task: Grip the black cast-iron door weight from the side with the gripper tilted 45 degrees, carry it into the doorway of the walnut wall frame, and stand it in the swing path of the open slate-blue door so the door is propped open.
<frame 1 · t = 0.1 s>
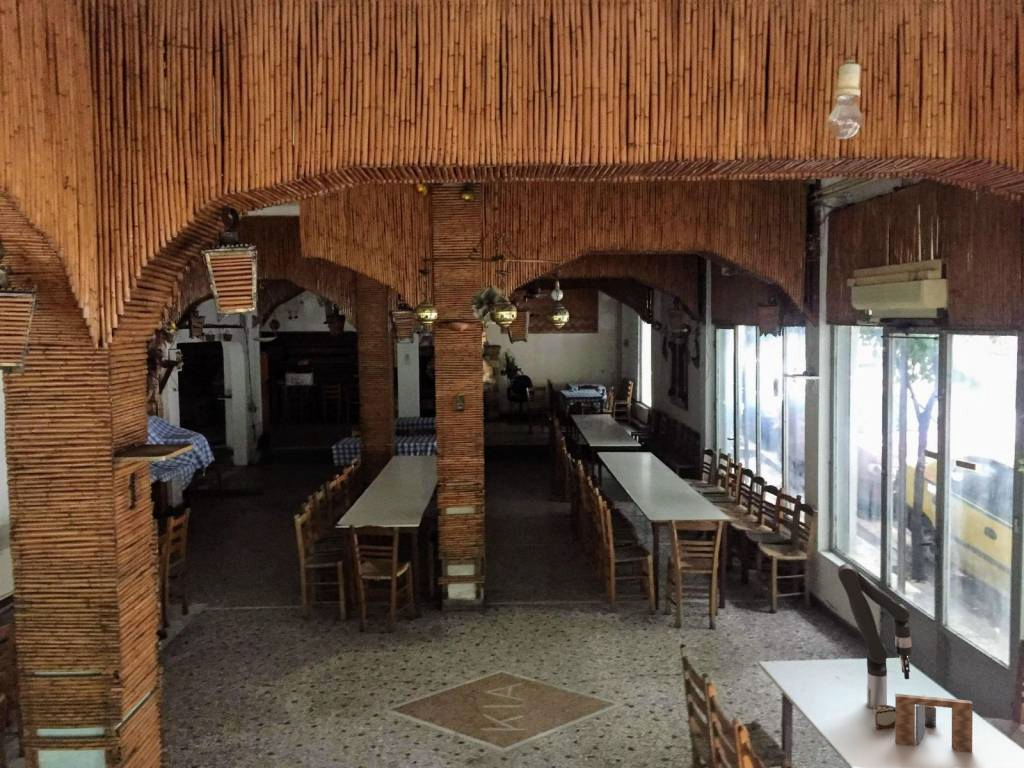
hand: (905, 675, 433), 17 cm above the table, tool pointing down, fingers open, 8 cm apart
cabinet door: (918, 718, 402), point 10 cm above the table, hinge at 70.0°
door weight: (929, 725, 415), on the table
food container: (882, 727, 415), on the table
door frame: (933, 746, 394), on the table
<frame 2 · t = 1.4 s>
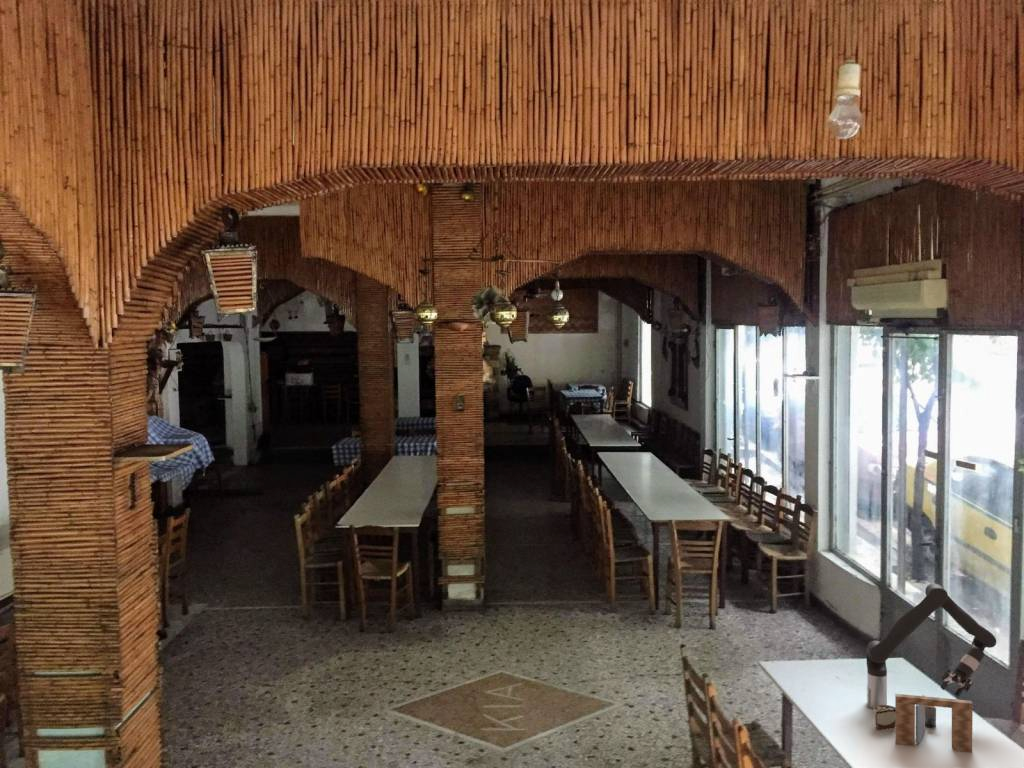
hand: (948, 692, 418), 15 cm above the table, tool tilted 45°, fingers open, 8 cm apart
nothing on the table moved.
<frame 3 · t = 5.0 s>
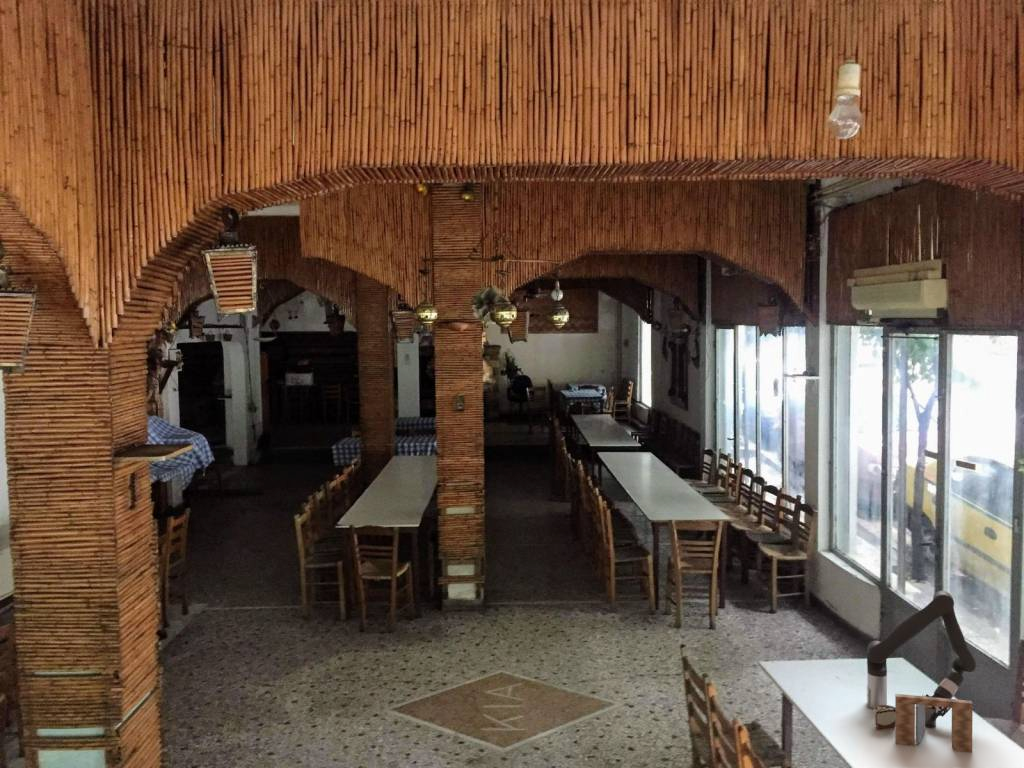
hand: (926, 717, 414), 4 cm above the table, tool tilted 45°, fingers closed on door weight, 5 cm apart
door weight: (929, 725, 415), on the table, touching gripper
everything else where it was.
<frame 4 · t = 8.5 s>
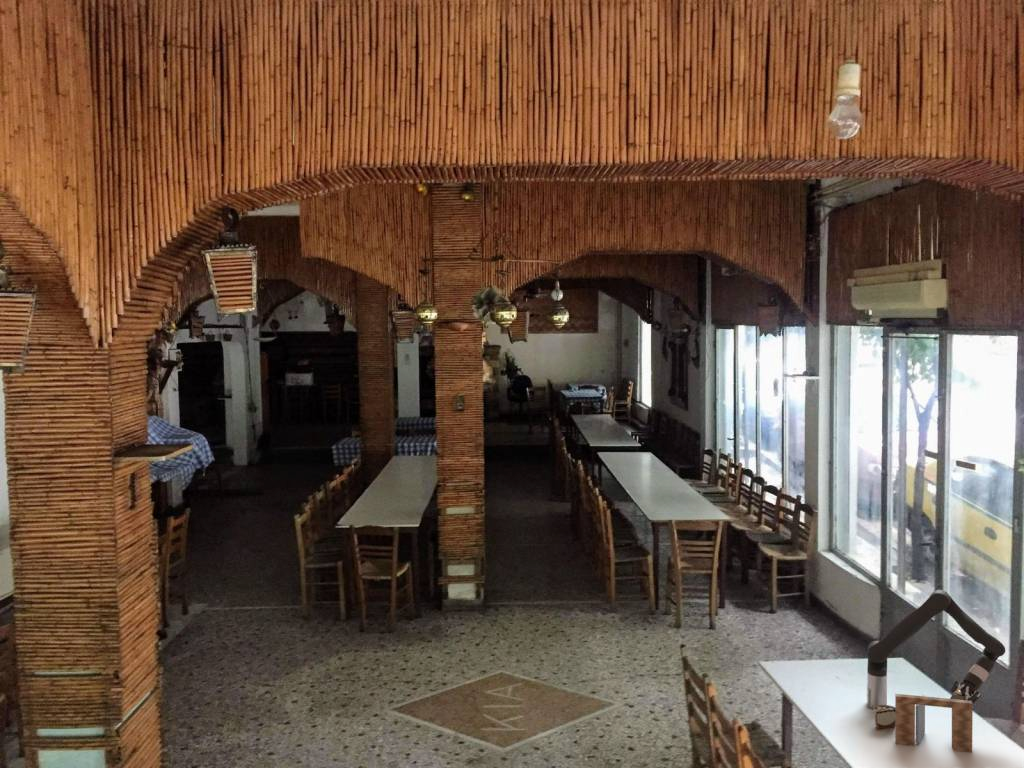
hand: (956, 704, 402), 16 cm above the table, tool tilted 45°, fingers closed on door weight, 5 cm apart
door weight: (959, 713, 403), point 11 cm above the table, touching gripper
everything else where it was.
when the fingers open (6 cm above the table, at t = 11.9 s): door weight drops 1 cm, on the table.
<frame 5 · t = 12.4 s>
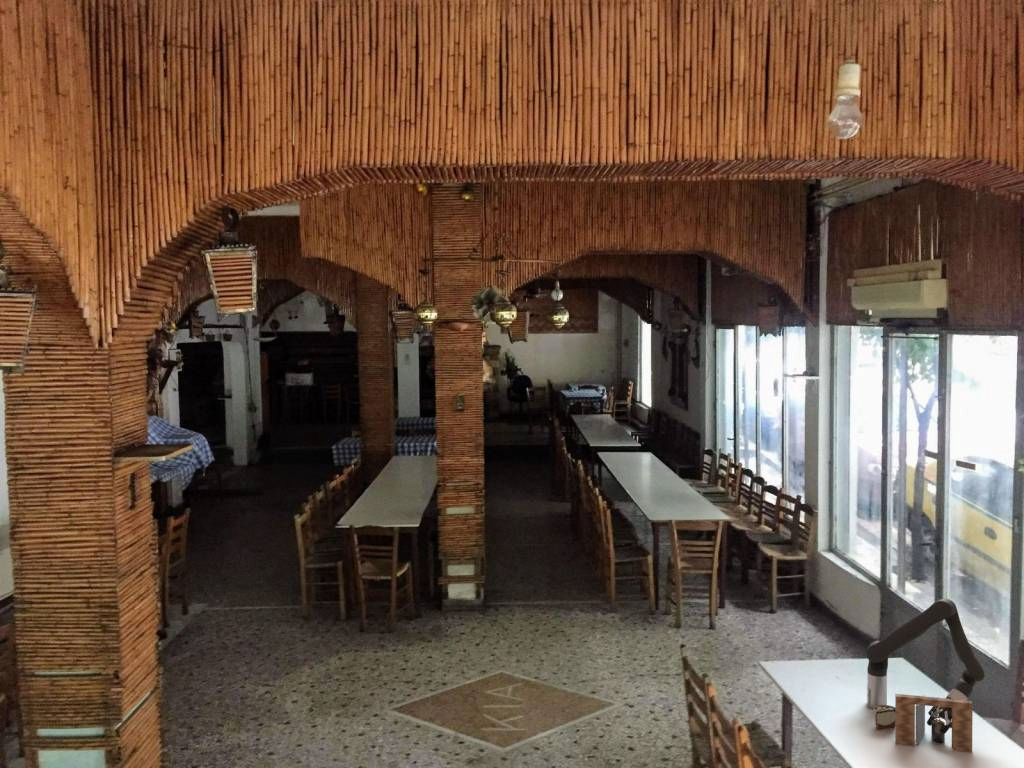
hand: (935, 728, 399), 6 cm above the table, tool tilted 45°, fingers open, 8 cm apart
door weight: (938, 740, 400), on the table
everything else where it was.
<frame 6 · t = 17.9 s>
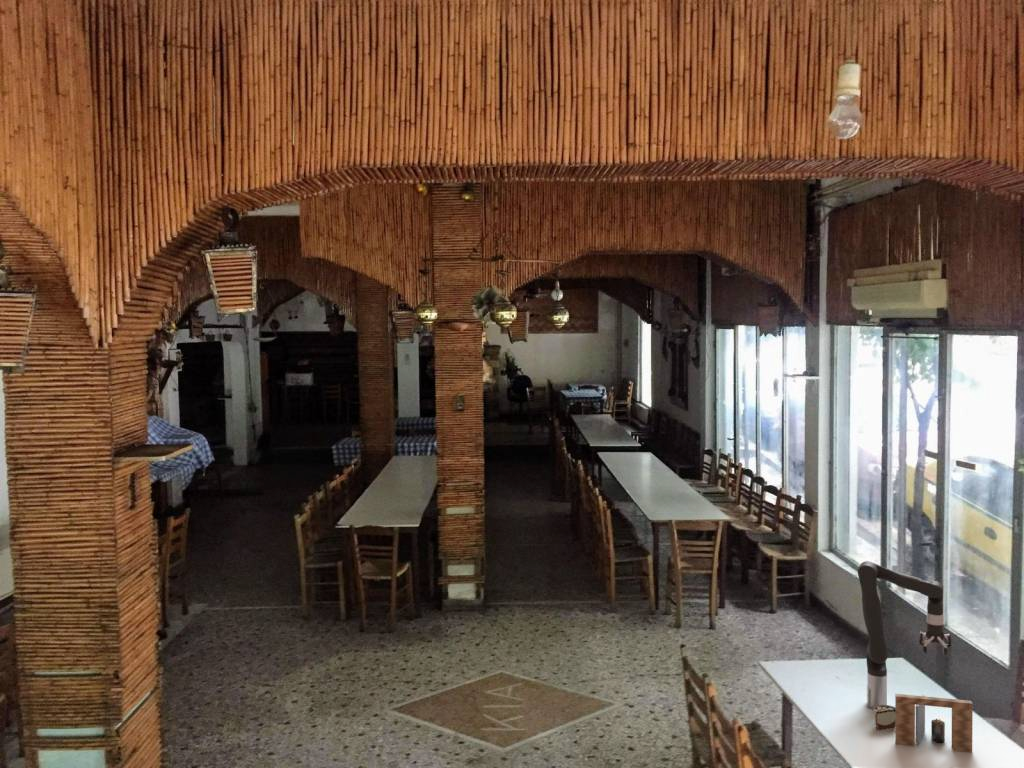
hand: (934, 653, 423), 32 cm above the table, tool pointing down, fingers open, 8 cm apart
nothing on the table moved.
at the end: door weight 0.2 cm from the target spot, on the table; door weight tilted 0°; cabinet door at +70° (first picture: +70°) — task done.
